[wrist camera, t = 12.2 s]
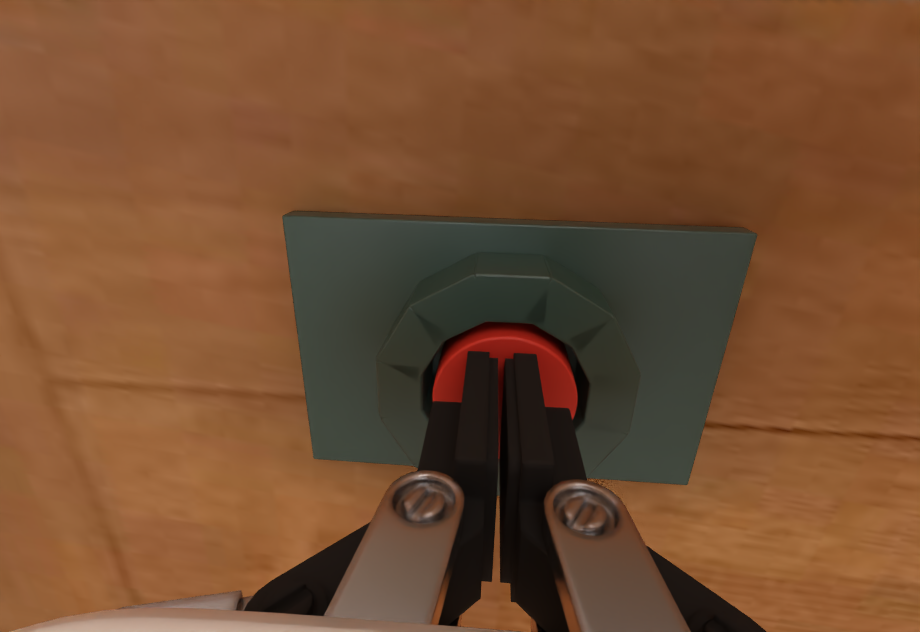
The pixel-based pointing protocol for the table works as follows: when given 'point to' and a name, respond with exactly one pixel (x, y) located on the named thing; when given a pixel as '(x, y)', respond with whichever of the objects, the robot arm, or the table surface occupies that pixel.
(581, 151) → the table surface
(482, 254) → the button box
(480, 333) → the button
